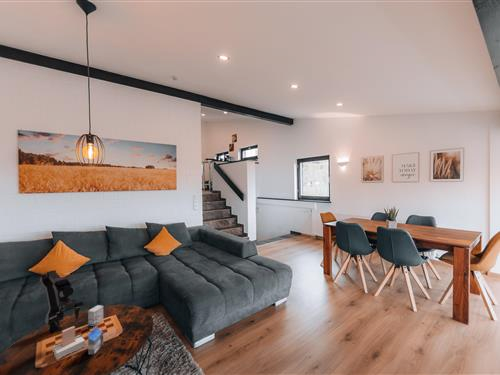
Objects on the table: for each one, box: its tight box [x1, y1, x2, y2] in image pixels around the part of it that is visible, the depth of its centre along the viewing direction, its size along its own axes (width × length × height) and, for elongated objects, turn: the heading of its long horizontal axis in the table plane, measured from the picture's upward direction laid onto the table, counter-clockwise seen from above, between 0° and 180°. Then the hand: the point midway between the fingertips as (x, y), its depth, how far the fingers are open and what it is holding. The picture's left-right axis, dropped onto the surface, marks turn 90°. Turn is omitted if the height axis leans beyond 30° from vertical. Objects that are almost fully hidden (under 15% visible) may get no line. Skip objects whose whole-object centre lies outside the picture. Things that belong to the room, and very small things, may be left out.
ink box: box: [87, 304, 104, 326], centre depth 170 cm, size 9×5×12 cm, turn 168°
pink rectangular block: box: [61, 325, 76, 347], centre depth 144 cm, size 2×6×13 cm, turn 143°
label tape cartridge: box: [87, 325, 104, 355], centre depth 144 cm, size 9×4×12 cm, turn 1°
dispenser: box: [52, 334, 86, 361], centre depth 144 cm, size 8×14×5 cm, turn 143°
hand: (68, 323), depth 149 cm, fingers open, 9 cm apart
